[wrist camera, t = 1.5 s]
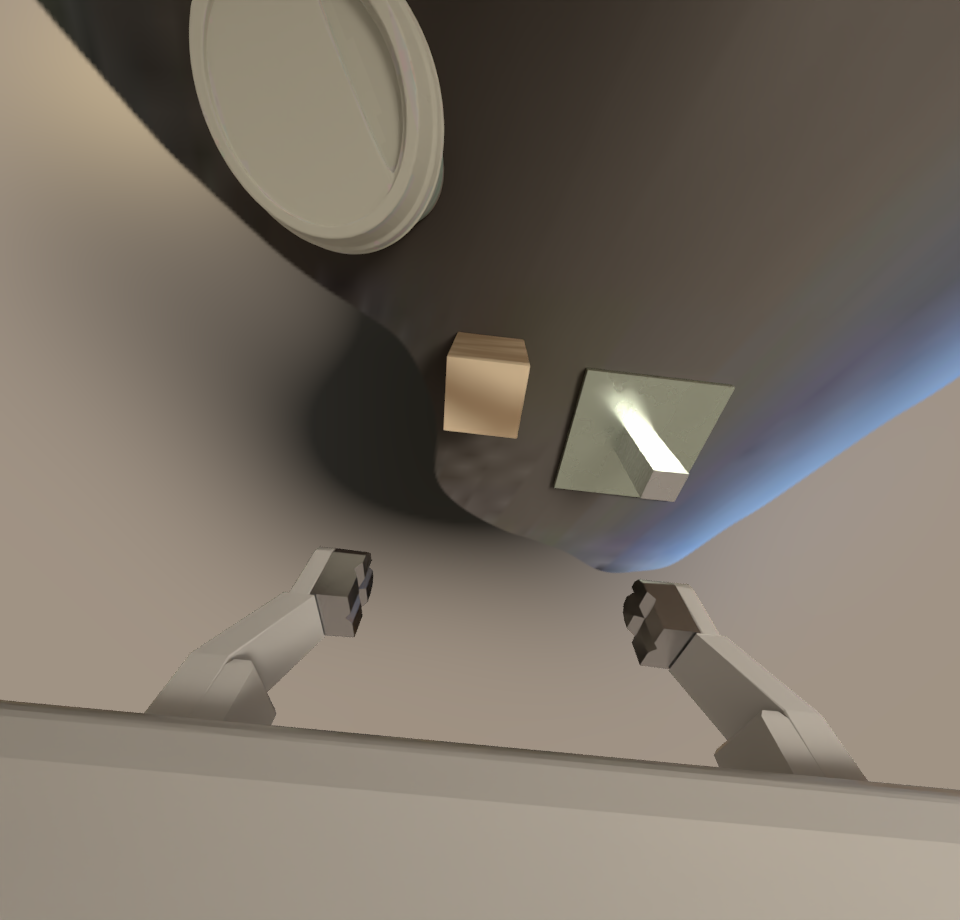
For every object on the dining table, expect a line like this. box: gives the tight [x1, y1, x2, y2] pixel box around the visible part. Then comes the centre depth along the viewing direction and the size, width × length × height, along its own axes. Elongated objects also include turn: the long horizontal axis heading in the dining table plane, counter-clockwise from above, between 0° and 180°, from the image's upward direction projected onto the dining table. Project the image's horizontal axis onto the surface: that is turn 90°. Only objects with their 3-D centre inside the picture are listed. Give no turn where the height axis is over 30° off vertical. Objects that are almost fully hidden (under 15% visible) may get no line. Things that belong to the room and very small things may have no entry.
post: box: [554, 368, 735, 502], centre depth 28 cm, size 12×12×7 cm
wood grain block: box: [443, 332, 530, 438], centre depth 25 cm, size 5×5×7 cm
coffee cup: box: [189, 0, 444, 254], centre depth 16 cm, size 8×8×12 cm
